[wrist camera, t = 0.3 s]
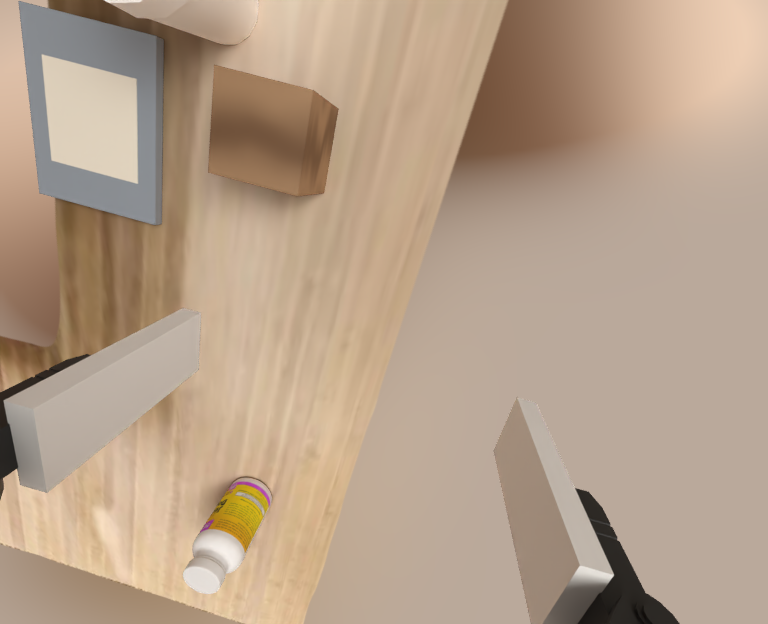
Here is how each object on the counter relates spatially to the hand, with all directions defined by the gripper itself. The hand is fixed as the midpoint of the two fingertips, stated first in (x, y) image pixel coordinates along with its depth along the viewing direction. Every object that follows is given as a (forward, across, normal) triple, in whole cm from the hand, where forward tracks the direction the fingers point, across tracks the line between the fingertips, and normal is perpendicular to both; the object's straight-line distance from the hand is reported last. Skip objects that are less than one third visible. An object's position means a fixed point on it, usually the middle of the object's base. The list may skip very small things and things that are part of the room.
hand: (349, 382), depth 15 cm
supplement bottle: (+26, -13, -41) cm, 50 cm away
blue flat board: (+26, -35, +6) cm, 44 cm away
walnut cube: (+26, -14, +8) cm, 31 cm away
